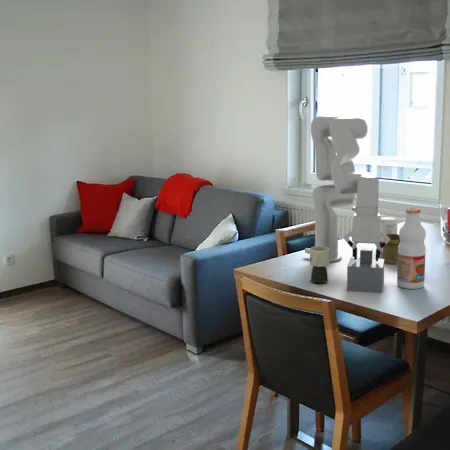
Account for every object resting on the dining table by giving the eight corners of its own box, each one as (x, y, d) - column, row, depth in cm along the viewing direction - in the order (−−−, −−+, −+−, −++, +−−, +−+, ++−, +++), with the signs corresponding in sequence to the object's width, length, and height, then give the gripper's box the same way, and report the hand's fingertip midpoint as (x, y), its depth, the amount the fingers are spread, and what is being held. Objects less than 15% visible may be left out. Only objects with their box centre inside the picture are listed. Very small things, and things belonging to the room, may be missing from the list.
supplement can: (375, 253, 262) (376, 219, 259) (378, 249, 269) (379, 216, 266) (395, 255, 259) (396, 220, 256) (397, 250, 266) (398, 217, 263)
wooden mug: (411, 267, 241) (413, 222, 237) (378, 263, 247) (379, 220, 244) (416, 261, 248) (418, 218, 245) (383, 258, 255) (385, 216, 251)
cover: (347, 290, 214) (347, 252, 211) (350, 280, 226) (351, 244, 223) (381, 292, 211) (382, 254, 208) (383, 282, 222) (384, 245, 219)
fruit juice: (398, 280, 224) (400, 206, 218) (425, 282, 220) (428, 207, 215) (395, 288, 215) (397, 211, 210) (423, 290, 212) (426, 212, 206)
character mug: (314, 277, 231) (314, 244, 229) (332, 278, 228) (332, 245, 226) (305, 285, 222) (305, 251, 219) (324, 287, 219) (325, 252, 216)
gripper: (340, 211, 211) (340, 261, 215) (392, 213, 206) (390, 263, 210) (343, 208, 218) (342, 255, 222) (393, 209, 213) (391, 258, 217)
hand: (366, 259), depth 216 cm, fingers open, 6 cm apart
